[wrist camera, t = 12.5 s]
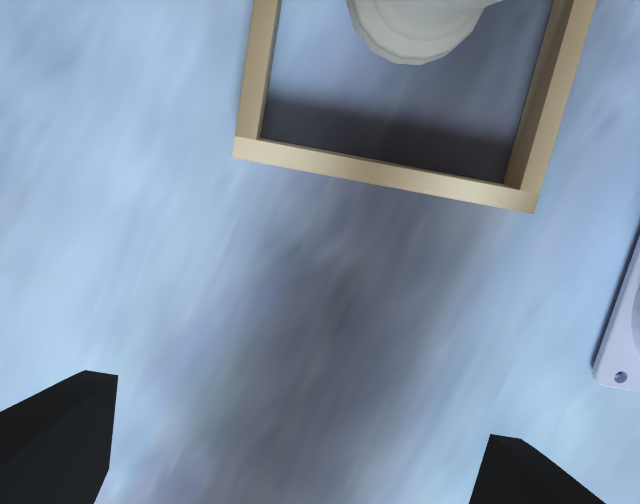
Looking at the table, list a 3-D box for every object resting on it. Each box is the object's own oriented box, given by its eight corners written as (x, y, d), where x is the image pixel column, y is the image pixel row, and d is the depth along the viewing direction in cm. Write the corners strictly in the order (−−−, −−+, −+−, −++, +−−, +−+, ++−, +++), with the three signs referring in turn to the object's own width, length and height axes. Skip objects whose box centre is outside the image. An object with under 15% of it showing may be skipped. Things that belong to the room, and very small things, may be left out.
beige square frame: (606, -109, 17) (635, -131, 15) (515, 206, 19) (533, 214, 18) (287, -182, 16) (285, -214, 15) (238, 153, 19) (231, 157, 17)
